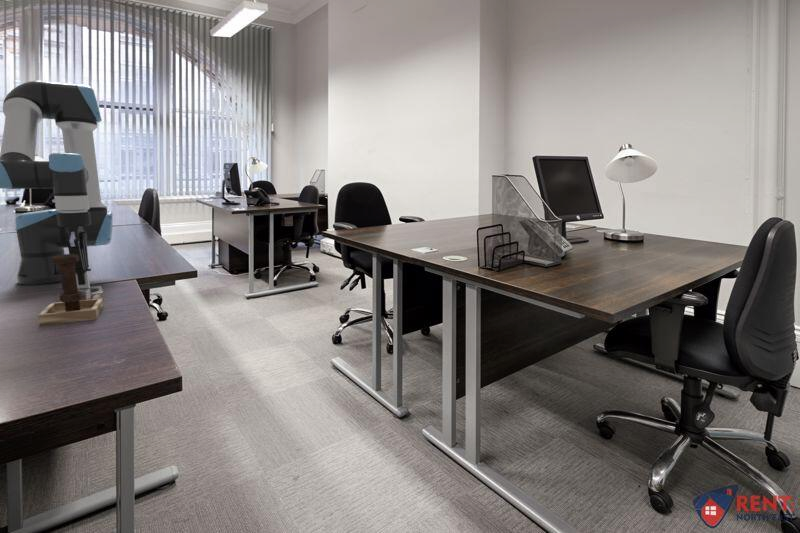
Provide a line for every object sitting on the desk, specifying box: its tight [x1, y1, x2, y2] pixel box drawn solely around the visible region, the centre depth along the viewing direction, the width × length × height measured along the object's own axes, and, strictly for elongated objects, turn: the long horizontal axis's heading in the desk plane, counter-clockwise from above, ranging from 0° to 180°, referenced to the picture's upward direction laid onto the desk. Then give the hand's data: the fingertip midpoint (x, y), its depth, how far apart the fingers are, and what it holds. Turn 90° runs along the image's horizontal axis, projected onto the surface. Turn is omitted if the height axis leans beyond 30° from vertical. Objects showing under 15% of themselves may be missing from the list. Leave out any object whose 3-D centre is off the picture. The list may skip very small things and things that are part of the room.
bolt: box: [52, 253, 83, 312], centre depth 115 cm, size 6×5×15 cm
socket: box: [37, 293, 105, 326], centre depth 121 cm, size 23×12×2 cm, turn 25°
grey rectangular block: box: [78, 287, 93, 300], centre depth 125 cm, size 6×4×4 cm, turn 25°
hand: (84, 294), depth 129 cm, fingers closed
